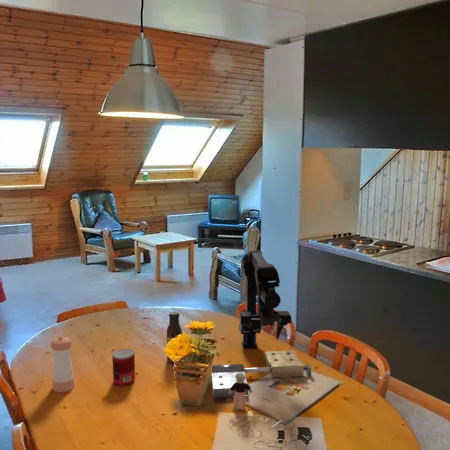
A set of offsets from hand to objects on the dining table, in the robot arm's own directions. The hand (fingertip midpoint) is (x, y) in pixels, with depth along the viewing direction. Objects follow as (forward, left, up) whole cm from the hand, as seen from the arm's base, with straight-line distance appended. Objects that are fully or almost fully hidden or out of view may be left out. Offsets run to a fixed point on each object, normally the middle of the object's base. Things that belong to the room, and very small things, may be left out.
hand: (264, 339), depth 175 cm
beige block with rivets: (-5, +8, -14) cm, 17 cm away
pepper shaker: (+4, -73, -14) cm, 75 cm away
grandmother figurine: (+22, -11, -14) cm, 29 cm away
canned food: (+1, -52, -15) cm, 54 cm away
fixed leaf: (+7, -1, -14) cm, 16 cm away
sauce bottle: (-15, -34, -14) cm, 40 cm away
